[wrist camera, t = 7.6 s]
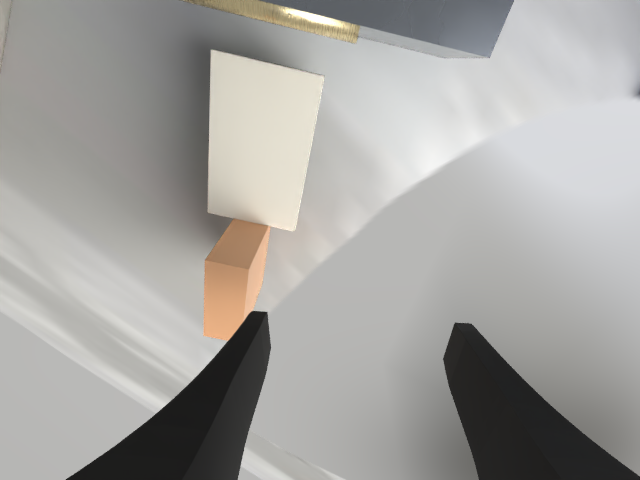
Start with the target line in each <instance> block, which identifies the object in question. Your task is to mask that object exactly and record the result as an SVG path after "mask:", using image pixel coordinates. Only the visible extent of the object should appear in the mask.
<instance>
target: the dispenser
mask: <svg viewBox="0 0 640 480" xmlns="http://www.w3.org/2000/svg"><path fill="white" fill-rule="evenodd" d="M180 1H184V2H188V3H192V4H196V5H201V6H205V7H209V8H213V9H217V10H221V11H225V12H229V13H233V14H237V15H241V16H245V17H249V18H253V19H257V20H261V21H265V22H269V23H273V24H277V25H282V26H286V27H290V28H294V29H298V30H302V31H306V32H310V33H314V34H318V35H322V36H326V37H330V38H334V39H338V40H342V41H346V42H350V43H354V44H356V42H357V38H358V37H361V38H365V39H369V40H374V41H378V42H382V43H386V44H390V45H394V46H398V47H402V48H406V49H410V50H414V51H418V52H422V53H426V54H430V55H434V56H438V57H442V58H490V56H491V53H492V51H493V49H494V46H495V44H496V41H497V39H498V37H499V34H500V32H501V30H502V27H503V25H504V23H505V20H506V18H507V16H508V13H509V11H510V9H511V6H512V4H513V2H514V0H180Z"/></svg>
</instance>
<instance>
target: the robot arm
mask: <svg viewBox="0 0 640 480" xmlns="http://www.w3.org/2000/svg"><path fill="white" fill-rule="evenodd" d="M270 350H271V344H270V334H269V325H268V315H267V312H260V311H251V312H250V313H249V314H248V316H247V317H246V319H245V320H244V321H243V323H242V324H241V325H240V327H239V328H238V329H237V331H236V332H235V333H234V334H233V336H232V337H231V338H230V339H229V341H228V342H227V343H226V344H225V345H224V347H223V348H222V349H221V350H220V351H219V353H218V354H217V355H216V356H215V357H214V358H213V359H212V360H211V362H210V363H209V364H208V365H207V366H206V367H205V368H204V369H203V370H202V371H201V372H200V373H199V375H198V376H197V377H196V378H195V379H194V380H193V381H192V382H191V383H190V384H189V385H188V386H187V387H185V388H184V389H183V390H182V391H181V392H180V393H179V394H178V395H177V396H176V397H175V398H174V399H173V400H171V401H170V402H169V403H168V404H167V405H166V406H165V407H163V408H162V409H161V410H160V411H159V412H158V413H157V414H155V415H154V416H153V417H152V418H151V419H149V420H148V421H147V422H146V423H144V424H143V425H142V426H141V427H139V428H138V429H137V430H135V431H134V432H133V433H131V434H130V435H129V436H127V437H126V438H125V439H123V440H122V441H121V442H120V443H118V444H117V445H116V446H115V447H113V448H111V449H110V450H109V451H107V452H106V453H104V454H103V455H102V456H100V457H98V458H97V459H96V460H94V461H93V462H91V463H90V464H88V465H87V466H85V467H84V468H82V469H81V470H80V471H78V472H77V473H75V474H74V475H72V476H70V477H69V478H67V479H66V480H238V475H239V470H240V465H241V461H242V456H243V451H244V447H245V443H246V439H247V435H248V431H249V428H250V425H251V421H252V418H253V415H254V412H255V408H256V405H257V402H258V398H259V395H260V392H261V389H262V385H263V382H264V379H265V375H266V371H267V366H268V361H269V355H270ZM443 360H444V365H445V370H446V375H447V379H448V384H449V387H450V391H451V394H452V396H453V399H454V402H455V405H456V408H457V411H458V414H459V417H460V420H461V423H462V425H463V428H464V431H465V434H466V437H467V440H468V443H469V446H470V449H471V452H472V455H473V458H474V462H475V465H476V469H477V473H478V477H479V480H640V476H638V475H637V474H636V473H634V472H633V471H631V470H630V469H629V468H627V467H626V466H625V465H623V464H622V463H621V462H619V461H618V460H617V459H615V458H614V457H612V456H611V455H610V454H609V453H608V452H606V451H605V450H604V449H602V448H601V447H600V446H598V445H597V444H596V443H595V442H593V441H592V440H591V439H589V438H588V437H587V436H586V435H585V434H583V433H582V432H581V431H580V430H579V429H577V428H576V427H575V426H574V425H572V423H570V422H569V421H568V420H567V419H566V418H564V417H563V416H562V415H561V414H560V413H559V412H557V411H556V410H555V409H554V408H553V407H552V406H551V405H550V404H548V402H546V401H545V400H544V399H543V398H542V397H541V396H540V395H539V394H538V393H537V392H536V391H535V390H534V389H533V388H532V387H531V386H530V385H529V384H528V383H527V382H526V381H524V379H522V377H521V376H520V375H519V374H517V372H516V371H515V370H514V369H513V368H512V367H511V366H510V365H509V364H508V363H507V362H506V361H505V360H504V359H503V358H502V357H501V356H500V354H498V353H497V351H496V350H495V349H494V348H493V347H492V346H491V345H490V344H489V343H488V342H487V340H486V339H485V338H484V337H483V336H482V335H481V334H480V333H479V332H478V330H477V329H476V328H475V327H474V326H473V325H472V324H469V323H455V324H454V327H453V330H452V333H451V336H450V339H449V342H448V346H447V349H446V352H445V355H444V358H443Z"/></svg>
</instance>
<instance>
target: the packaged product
mask: <svg viewBox="0 0 640 480" xmlns="http://www.w3.org/2000/svg"><path fill="white" fill-rule="evenodd" d="M11 5H12V0H0V72H1V66H2V60H3V53H4V47H5V41H6V35H7V29H8V23H9V17H10V11H11Z"/></svg>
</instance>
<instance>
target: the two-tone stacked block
mask: <svg viewBox="0 0 640 480" xmlns="http://www.w3.org/2000/svg"><path fill="white" fill-rule="evenodd" d="M324 78H325V76H324V75H320V74H316V73H312V72H307V71H303V70H299V69H295V68H291V67H287V66H282V65H278V64H274V63H270V62H266V61H262V60H258V59H253V58H249V57H245V56H241V55H237V54H233V53H228V52H224V51H220V50H212V49H211V66H210V114H209V163H208V211H207V213H211V214H215V215H220V216H225V217H229V218H234V219H233V220H232V222H231V223H230V225H229V226H228V228H227V229H226V230H225V232H224V233H223V235H222V236H221V238H220V239H219V241H218V242H217V244H216V245H215V246H214V248H213V249H212V251H211V252H210V254H209V255H208V257H207V258H206V259H205V285H204V336H207V337H212V338H217V339H222V340H228V341H229V339H230V338H231V337H232V336H233V334H234V333H235V332H236V331H237V329H238V328H239V327H240V325H241V324H242V323H243V321H244V320H245V319H246V317H247V316H248V314H249V313H250V312H251V311H253V308H254V306H255V303H256V300H257V297H258V295H259V292H260V289H261V286H262V283H263V275H264V268H265V261H266V254H267V247H268V240H269V233H270V226H271V227H276V228H280V229H285V230H290V231H295V228H296V224H297V219H298V214H299V208H300V203H301V198H302V193H303V188H304V182H305V177H306V172H307V167H308V161H309V156H310V151H311V146H312V141H313V135H314V130H315V125H316V120H317V115H318V109H319V104H320V99H321V94H322V88H323V83H324Z"/></svg>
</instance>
